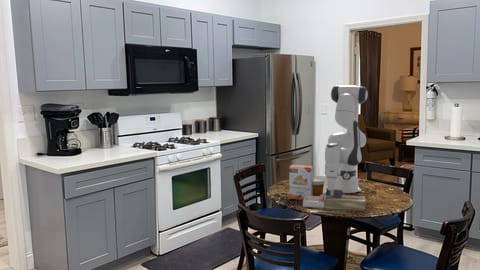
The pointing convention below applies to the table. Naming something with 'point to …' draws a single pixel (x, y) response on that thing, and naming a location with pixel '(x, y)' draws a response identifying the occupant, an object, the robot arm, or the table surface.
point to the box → (313, 202)
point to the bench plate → (345, 202)
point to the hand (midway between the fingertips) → (332, 194)
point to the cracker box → (300, 181)
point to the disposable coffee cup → (318, 186)
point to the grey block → (336, 193)
